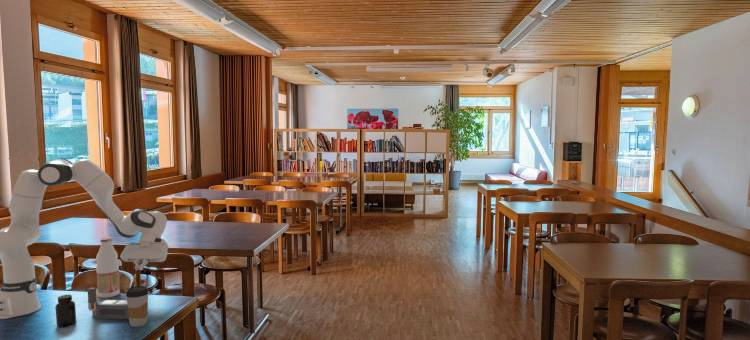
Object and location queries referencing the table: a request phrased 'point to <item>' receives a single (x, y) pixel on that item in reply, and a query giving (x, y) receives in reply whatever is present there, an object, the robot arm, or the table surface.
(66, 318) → the supplement bottle
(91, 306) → the swing arm
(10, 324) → the table surface
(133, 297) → the coffee cup
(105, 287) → the fruit juice
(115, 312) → the box
